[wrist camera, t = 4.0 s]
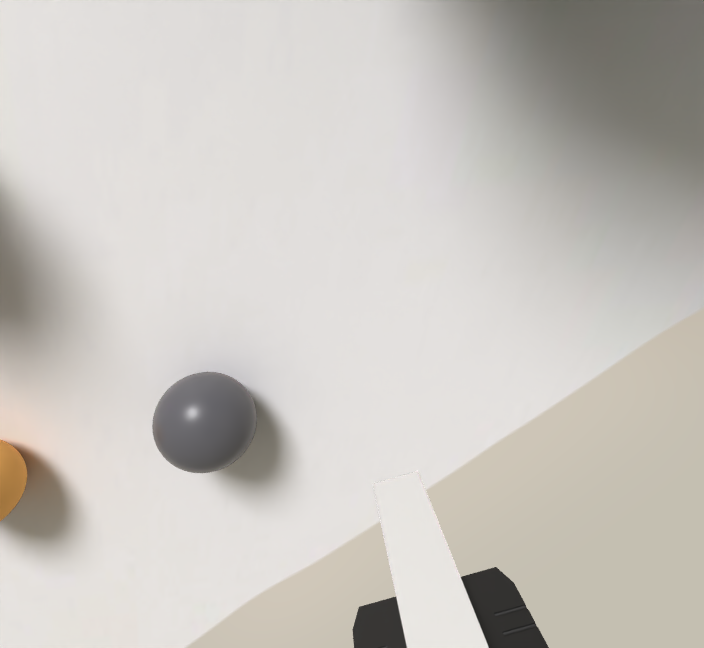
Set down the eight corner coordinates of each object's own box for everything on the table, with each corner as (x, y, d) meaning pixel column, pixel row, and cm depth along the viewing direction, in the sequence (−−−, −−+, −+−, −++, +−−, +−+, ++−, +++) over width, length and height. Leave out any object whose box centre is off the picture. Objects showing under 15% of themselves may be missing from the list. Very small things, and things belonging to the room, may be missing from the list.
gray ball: (159, 371, 25) (116, 414, 20) (246, 348, 25) (227, 384, 20) (191, 448, 26) (159, 507, 21) (273, 425, 27) (262, 479, 21)
